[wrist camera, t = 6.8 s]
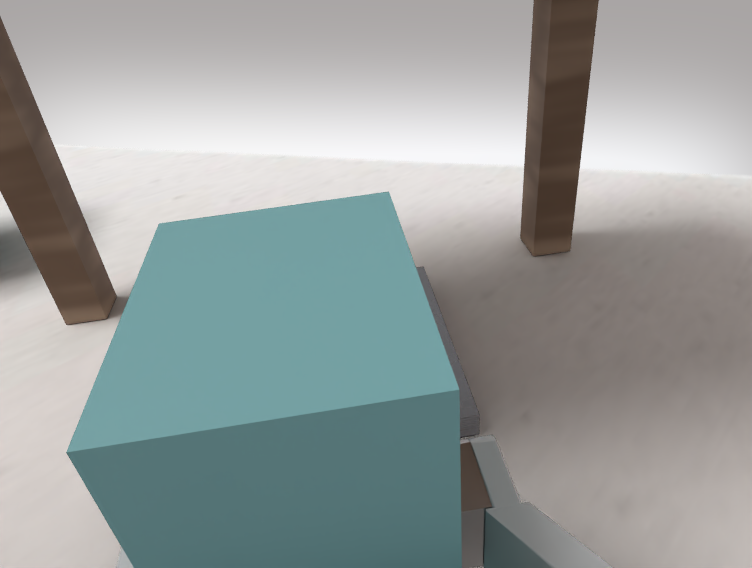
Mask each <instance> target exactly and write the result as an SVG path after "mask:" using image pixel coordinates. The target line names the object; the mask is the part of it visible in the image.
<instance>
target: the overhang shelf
mask: <svg viewBox="0 0 752 568" xmlns="http://www.w3.org/2000/svg"><path fill="white" fill-rule="evenodd" d="M598 1H599V0H534V7H533V24H532V41H531V43H532V44H531V60H530V77H529V95H528V113H527V129H526V131H527V132H526V148H525V164H524V182H523V200H522V217H521V235H520V238H521V240H522V241H523V243H524V244H525V245H526V247H527V248H528V250H529V251H530V253H531V254H532V255H533V256H539V255H545V254H552V253H559V252H566V251H570V248H571V239H572V230H573V221H574V212H575V204H576V195H577V186H578V177H579V168H580V160H581V151H582V142H583V133H584V124H585V115H586V106H587V98H588V89H589V80H590V71H591V63H592V62H591V61H592V54H593V44H594V36H595V27H596V19H597V10H598ZM0 191H1V193H2V195H3V197H4V199H5V201H6V203H7V205H8V207H9V209H10V211H11V213H12V215H13V217H14V219H15V222H16V224H17V226H18V228H19V230H20V232H21V234H22V236H23V238H24V240H25V242H26V244H27V246H28V248H29V250H30V252H31V254H32V256H33V258H34V260H35V262H36V264H37V266H38V268H39V270H40V272H41V274H42V276H43V278H44V280H45V283H46V285H47V287H48V289H49V291H50V293H51V295H52V297H53V299H54V301H55V303H56V305H57V307H58V309H59V311H60V313H61V315H62V317H63V319H64V321H65V323H66V325H68V324H74V323H81V322H88V321H95V320H102V319H107V317H108V315H109V313H110V310H111V308H112V306H113V304H114V301H115V299H116V297H117V296H116V294H115V291H114V289H113V286H112V284H111V282H110V279H109V277H108V274H107V272H106V270H105V267H104V265H103V262H102V260H101V258H100V255H99V253H98V250H97V248H96V246H95V243H94V241H93V238H92V236H91V234H90V231H89V229H88V226H87V224H86V222H85V219H84V217H83V214H82V212H81V210H80V207H79V205H78V202H77V200H76V198H75V195H74V193H73V190H72V188H71V185H70V183H69V181H68V178H67V176H66V173H65V171H64V169H63V166H62V164H61V161H60V159H59V157H58V154H57V152H56V149H55V147H54V145H53V142H52V140H51V138H50V135H49V133H48V130H47V128H46V125H45V123H44V121H43V118H42V116H41V113H40V111H39V109H38V106H37V104H36V101H35V99H34V97H33V94H32V92H31V89H30V87H29V85H28V82H27V80H26V78H25V75H24V72H23V70H22V68H21V65H20V63H19V61H18V58H17V56H16V53H15V51H14V49H13V46H12V44H11V41H10V39H9V36H8V34H7V32H6V29H5V27H4V24H3V22H2V20H1V17H0Z"/></svg>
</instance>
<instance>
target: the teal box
mask: <svg viewBox="0 0 752 568" xmlns="http://www.w3.org/2000/svg"><path fill="white" fill-rule="evenodd" d="M66 453H67V454H68V456H69V458H70V459H71V461H72V463H73V465H74V466H75V468H76V470H77V471H78V473H79V475H80V477H81V478H82V480H83V482H84V483H85V485H86V487H87V489H88V490H89V492H90V494H91V495H92V497H93V499H94V501H95V502H96V504H97V506H98V507H99V509H100V511H101V512H102V514H103V516H104V518H105V519H106V521H107V523H108V524H109V526H110V528H111V530H112V531H113V533H114V535H115V536H116V538H117V540H118V542H119V543H120V545H121V547H122V548H123V550H124V552H125V554H126V555H127V557H128V559H129V560H130V562H131V564H132V565H133V567H134V568H462V534H461V465H460V397H459V387H458V384H457V381H456V379H455V376H454V373H453V370H452V367H451V365H450V362H449V359H448V356H447V353H446V351H445V348H444V345H443V342H442V339H441V337H440V334H439V331H438V328H437V325H436V323H435V320H434V317H433V314H432V311H431V309H430V306H429V303H428V300H427V297H426V295H425V292H424V289H423V286H422V283H421V281H420V278H419V275H418V272H417V269H416V267H415V264H414V261H413V258H412V255H411V253H410V250H409V247H408V244H407V241H406V239H405V236H404V233H403V230H402V227H401V225H400V222H399V219H398V216H397V213H396V211H395V208H394V205H393V202H392V199H391V197H390V194H389V192H383V193H376V194H369V195H361V196H354V197H347V198H340V199H333V200H326V201H318V202H311V203H304V204H297V205H290V206H282V207H275V208H268V209H261V210H254V211H247V212H239V213H232V214H225V215H218V216H211V217H203V218H196V219H189V220H182V221H175V222H168V223H160V224H159V225H158V227H157V230H156V232H155V235H154V237H153V240H152V242H151V245H150V247H149V250H148V252H147V254H146V257H145V259H144V262H143V264H142V267H141V269H140V272H139V274H138V277H137V279H136V282H135V284H134V287H133V289H132V292H131V294H130V296H129V299H128V301H127V304H126V306H125V309H124V311H123V314H122V316H121V319H120V321H119V324H118V326H117V329H116V331H115V334H114V336H113V338H112V341H111V343H110V346H109V348H108V351H107V353H106V356H105V358H104V361H103V363H102V366H101V368H100V371H99V373H98V376H97V378H96V381H95V383H94V385H93V388H92V390H91V393H90V395H89V398H88V400H87V403H86V405H85V408H84V410H83V413H82V415H81V418H80V420H79V423H78V425H77V427H76V430H75V432H74V435H73V437H72V440H71V442H70V445H69V447H68V450H67V452H66Z"/></svg>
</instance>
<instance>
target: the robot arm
mask: <svg viewBox="0 0 752 568" xmlns="http://www.w3.org/2000/svg"><path fill="white" fill-rule="evenodd" d="M460 465H461V534H462V568H473V567H480V566H484V568H613V567H612V566H611V565H609V564H608V563H607V562H605V561H604V560H603V559H602V558H600V557H599V556H598V555H596V554H595V553H594V552H593V551H591V550H590V549H589V548H587V547H586V546H585V545H584V544H582V543H581V542H580V541H578V540H577V539H576V538H574V537H573V536H572V535H571V534H569V533H568V532H567V531H565V530H564V529H563V528H562V527H560V526H559V525H558V524H556V523H555V522H554V521H553V520H551V519H550V518H549V517H547V516H546V515H545V514H544V513H542V512H541V511H540V510H538V509H537V508H536V507H535V506H533V505H532V504H531V503H529V502H525V503H521V501H520V498H519V496H518V493H517V491H516V488H515V486H514V483H513V481H512V478H511V476H510V473H509V471H508V468H507V466H506V463H505V460H504V458H503V455H502V453H501V450H500V448H499V445H498V443H497V440H496V438H495V437H494V436H493V435H489V436H483V437H477V438H471V439H462V440H460ZM116 568H134V567H133V565H132V564H131V562H130V560H129V559H128V557H127V555H126V554H125V552H124V550H123V548H122V547H121V550H120V553H119V557H118V561H117V565H116Z"/></svg>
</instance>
